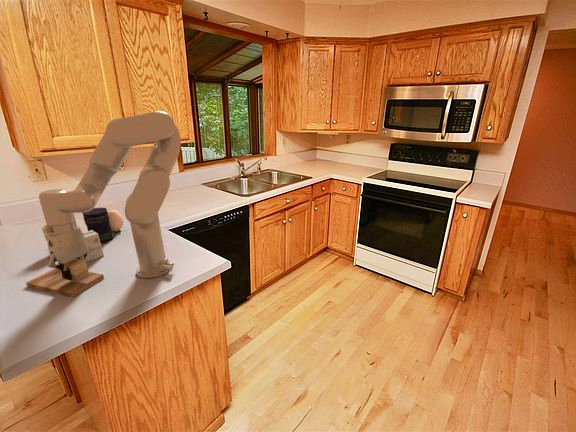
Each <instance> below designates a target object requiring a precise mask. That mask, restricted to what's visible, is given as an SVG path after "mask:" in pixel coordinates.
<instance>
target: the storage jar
mask: <svg viewBox="0 0 576 432" xmlns="http://www.w3.org/2000/svg"><path fill="white" fill-rule="evenodd" d="M82 216H83V220H84V225H85V226H86V229H87V231H91V230H93V231H95V232H96V233H98V236H99V239H100V243H101V245H103V244H107V243H110V242H111V241H114V239H115V237H114V231H112V228H111V226H110V222H109V219H110V218H109V215H108V209H107V208H106V207H94V208H93V209H92V210H91V211H89V212H85V213H82Z"/></svg>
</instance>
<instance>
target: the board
mask: <svg viewBox="0 0 576 432" xmlns="http://www.w3.org/2000/svg"><path fill="white" fill-rule="evenodd" d="M88 272H89V276H87V277H86V278H84V279H82V280H80V281H78V282H75V281H70V280H66V279H62V277H61V273H60V270H59V269H56V268H52V269H51V270H49V271H47V272H45V273H42V274H41V275H39V276H37V277H34V278H33V279H30V280H28V281H27V282H25V284H26V287H28V288H32V289H36V290H40V291H45V292H49V293H53V294H59V295H62V296H67V297H72V298H75V297H76V296H78V295H79V294H81V293H82V292H84V291H86V290H87V289H89V288H91V287H93V285H96V284H98V283H99V282H101V281H102V280H104V279H105V276H104V274H102V273H98V272H92V271H88Z"/></svg>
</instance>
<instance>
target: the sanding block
mask: <svg viewBox="0 0 576 432" xmlns="http://www.w3.org/2000/svg"><path fill="white" fill-rule="evenodd" d="M68 269H70V272H71V276H72V280H70V281H75V282H78V281H80V280H82V279H84V278H86V277H87V276H89V272H90V271H89V269H88V265H87V262H86V260H81V259H74V260H72V261H70V262H68ZM60 273H61V270H60ZM61 277H62V279H64V278H63V276H62V273H61ZM66 280H67V279H66Z"/></svg>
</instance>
